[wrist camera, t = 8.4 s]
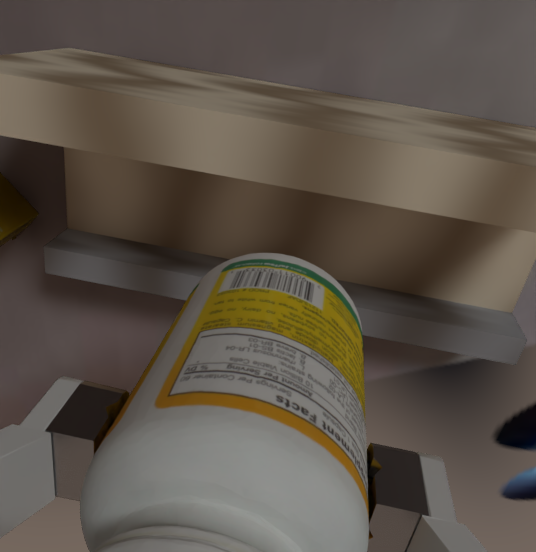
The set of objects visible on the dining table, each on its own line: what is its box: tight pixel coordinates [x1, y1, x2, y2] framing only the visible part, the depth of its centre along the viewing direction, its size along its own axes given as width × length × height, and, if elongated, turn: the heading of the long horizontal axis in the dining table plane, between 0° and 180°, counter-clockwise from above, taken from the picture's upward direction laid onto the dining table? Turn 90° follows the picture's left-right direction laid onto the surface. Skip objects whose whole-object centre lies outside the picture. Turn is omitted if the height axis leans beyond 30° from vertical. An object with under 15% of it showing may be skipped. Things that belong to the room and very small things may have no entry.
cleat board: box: [0, 48, 536, 365], centre depth 22 cm, size 24×11×9 cm, turn 81°
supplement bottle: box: [80, 253, 369, 552], centre depth 11 cm, size 5×5×10 cm
